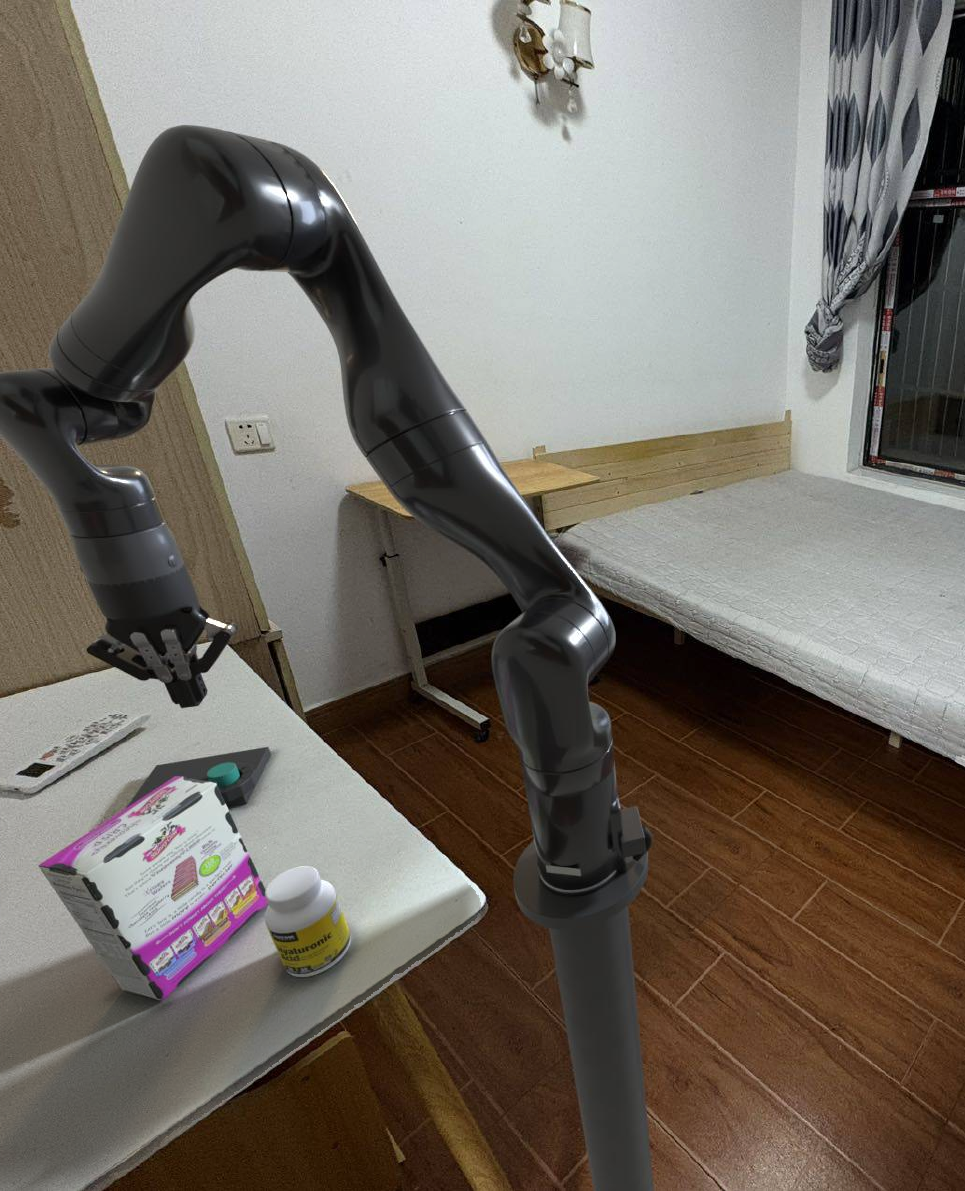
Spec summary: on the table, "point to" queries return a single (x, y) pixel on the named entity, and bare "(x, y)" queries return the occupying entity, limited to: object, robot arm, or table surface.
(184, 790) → the candy bar box
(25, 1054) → the table surface
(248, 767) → the scale
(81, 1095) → the table surface
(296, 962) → the supplement bottle
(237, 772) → the button
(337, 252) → the robot arm
